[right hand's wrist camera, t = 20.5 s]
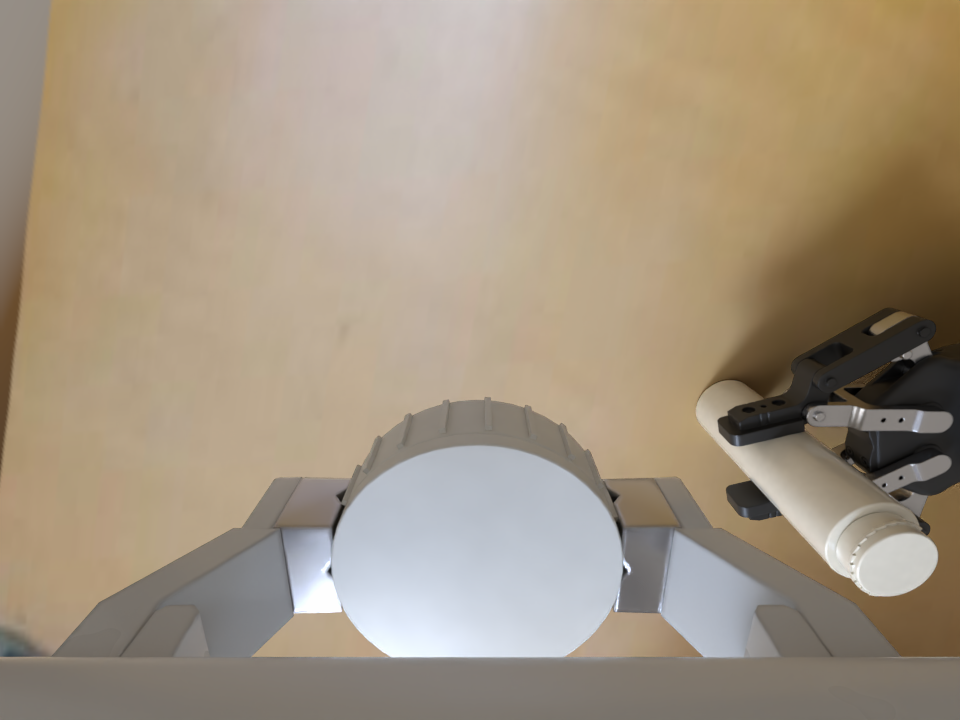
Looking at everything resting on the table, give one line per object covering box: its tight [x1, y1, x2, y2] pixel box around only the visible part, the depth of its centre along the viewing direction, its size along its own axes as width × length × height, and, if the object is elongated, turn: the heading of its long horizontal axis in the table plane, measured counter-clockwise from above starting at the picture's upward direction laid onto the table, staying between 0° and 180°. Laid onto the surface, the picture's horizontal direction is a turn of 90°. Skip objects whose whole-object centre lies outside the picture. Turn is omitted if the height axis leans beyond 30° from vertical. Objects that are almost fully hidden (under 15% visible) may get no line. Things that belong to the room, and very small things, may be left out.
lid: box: [331, 397, 623, 657], centre depth 9 cm, size 5×5×2 cm
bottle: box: [696, 380, 938, 597], centre depth 28 cm, size 4×4×15 cm
